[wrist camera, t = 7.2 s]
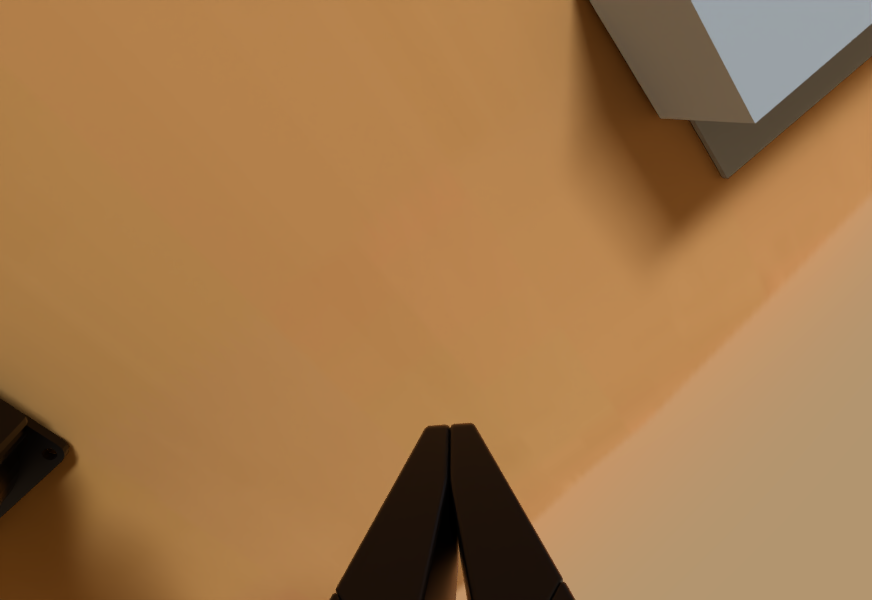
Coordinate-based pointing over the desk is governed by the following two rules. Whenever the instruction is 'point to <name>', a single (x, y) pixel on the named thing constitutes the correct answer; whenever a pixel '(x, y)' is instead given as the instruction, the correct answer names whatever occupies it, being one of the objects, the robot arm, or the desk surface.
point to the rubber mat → (779, 110)
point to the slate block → (728, 50)
